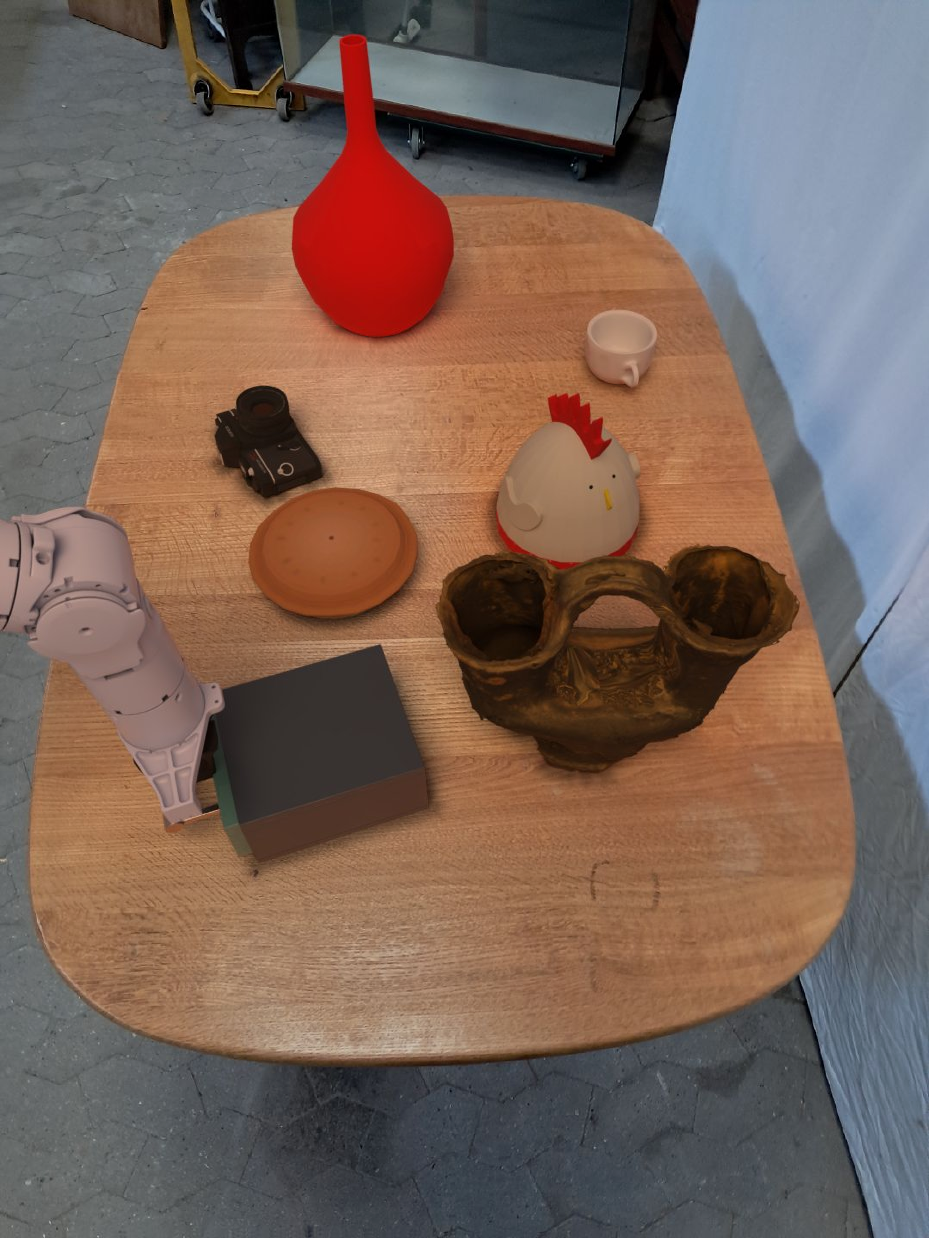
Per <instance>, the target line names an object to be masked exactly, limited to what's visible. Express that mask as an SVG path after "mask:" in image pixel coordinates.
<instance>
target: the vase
mask: <svg viewBox="0 0 929 1238" xmlns="http://www.w3.org/2000/svg"><path fill="white" fill-rule="evenodd" d="M338 44H339V45H338V46H339V55H340V68H341V69H340V70H341V76H342V77H341V79H342V91H343V103H344V113H345V121H346V130H347V132H346V137H345V142H344V143H345V144H344V146H343V149H342V151H341V154H340V155H339V156H338V157H337V159H336V160H335V162H334V163H333V164H332V166H331V167H330V168H329V169H328V171H327V173H326V174H325V175H324V177H323V178H322V180H321V181H320V182H319V183H318V184H317V185H316V187H315V188H314V189H313V190H312V191H311V192H310V194H309V195H308V196H306V198H305V199H304V200H303V202H301V204H299V206H298V208H297V210H296V211H295V213H294V215H293V217H292V233H291V251H292V252H291V253H292V258H293V262H294V263H293V264H294V267H295V269H296V271H297V273H298V276H299V278H300V280H301V281H302V283H303V285H304V287H305V288H306V290H307V292H308V293H309V295H310V297H311V299H312V301H313V302H314V304H315V305H316V306H318V307H319V309H321V310H322V312H323V313H325V314H326V315H327V316H328V317H329V319H331V320H332V322H334V324H337V325H339V326H340V327H342V328H344V329H346V330H348V331H350V332H352V333H354V334H357V335H361V336H364V337H372V338H382V337H390V336H394V335H398V334H401V333H403V332H405V331H407V330H409V329H410V328H413V326H415V325H416V324H417V323H419V322H420V321H422V320H423V319H424V318H425V317H426V316H427V315H428V314H429V312H430V311H431V310H432V308H434V306H435V304H436V303H437V301H438V300H439V298H440V297H441V296H442V293H443V291H444V287H445V285H446V282H447V278H448V275H449V272H450V269H451V265H452V263H453V260H454V257H455V238H454V232H453V225H452V222H451V218H450V214H449V209H448V208H447V206H446V204H445V203H444V201H443V199H441V197H440V196H438V195H437V194H436V193H434V192H433V191H432V190H431V189H430V188H428V187H427V186H426V185H425V184H424V183H422V181H420V180H419V179H418V178H416V177H415V176H414V175H413V174H411V172H410V171H409V170H407V168H405V167H404V166H403V164H401V162H399V160H397V159H396V158H395V157H394V156H393V155H392V154H391V153H390V152H389V151H388V150H387V149H386V147H385V146H384V144H383V142H382V141H381V138H380V135H379V133H378V130H377V123H376V113H375V111H376V110H375V102H374V93H373V92H374V91H373V84H372V75H371V67H370V57H369V49H368V41H367V37H365V36H364V35H361V34H348V35H344V36H342V37H341V38H339V40H338Z"/></svg>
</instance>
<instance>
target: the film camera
mask: <svg viewBox="0 0 929 1238" xmlns="http://www.w3.org/2000/svg"><path fill="white" fill-rule="evenodd" d="M289 404H290V403H289V399H288V396H287V394H286V393H285V391H283V390H282V389H280V388H278V387H275V386H272V385H263V384H262V385H255V386H252V387H251V386H250V387H249V388H246V389H245V390H243V391H242V392H241V393H239V394H238V395H237V397H236V400H235V404H234V408H231V409H228V410H224V411H222V412H218V413H216V414H215V415H216V417H215V419H214V423H215V426H216V431H215V433H214V440H215V446H216V453H217V456H218V459H219V460H220V461H221V464H222V466H225V467H226V468H227V467H229V468H239V470H240V471H241V476H242V479H243V480H244V482H245V483H246V485H247V486H248V487H250V488H251V489H252V490H253V491H254V493H257V492H259V495H261V496H262V497H263V498H267V497H269V496H273V495H274V496H277V495H278V494H279V493H281V492H283V491H286V490H288V489H291V488H294V487H297V486H300V485H303V484H306V483H307V484H310V483H311V482H312V481H314V480H317V479H320V478H322V477H323V471H322V469H323V468H322V463H321V461H320V459H319V457H318V455H317V454H316V452H315V451H314V450H313V448H312V447H311V445H310V444H309V443H308V441H307V440H306V438H305V437H304V436H303V434H302V433H301V432H300V430H299V429H298V427H297V425H296V422H295V420H294V418H293V417H292V415H291V414H290V405H289Z"/></svg>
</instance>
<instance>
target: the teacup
mask: <svg viewBox="0 0 929 1238" xmlns="http://www.w3.org/2000/svg"><path fill="white" fill-rule="evenodd" d="M584 342H585V343H584V345H585V346H584V353H585V360H586V363H587V366H588V368H589V369H590V371H591V373H592V374H593V375H594V376H595V377H596V378H597V379H598V380H601V381H603V382H605V383H608V384H613V385H624V384H625V385H626V386H628V387H629V388H636V387H637V386H638V385H639V381H640V378H641V377H643V375H644V374H645V372H647V370H648V368H649V367H650V365H651V363H652V360H653V358H654V355H655V352H656V347H657V345H658V344H657V343H658V331H657V328H656V326H655V324H654V323H653V322H652V321H651V320H650V319H649V318H648V317H646V316H645V315H643V314H641V313H639V312H636V311H632V310H627V309H609V310H605V311H602V312H600V313H598V314H596V315H595V316H593V317H592V318H591V319H590V321H589V322H588V324H587V327H586V332H585V341H584Z"/></svg>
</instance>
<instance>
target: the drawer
mask: <svg viewBox="0 0 929 1238" xmlns="http://www.w3.org/2000/svg"><path fill="white" fill-rule="evenodd" d="M211 720H214V721H215V726H216V730H217V735H218V749H217V751H216V752H215V753H214V755H213V756H214V761H215V766H216V773H215V774H213V778H212V779H213V785H214V789H215V794H216V800H217V803H214V804H211V805H208V806H205V807H201V810H202V814H201V815H198V816H195V817H192V818H190V819H187V820H184V821H180V822H177V823H174V824H171V823H170V822H169V820H168V819H167V818H166V817H165V815H164V814H163V813H162V812H161V817H162V821H163V828H164V831H165V833H168V834H174V833H175V834H176V833H179V832H181V831H182V830H184V829H185V825H187V824H191V823H194V822H197V821H200V820H203V819H206V818H210V817H213V816H217V815H220V819H221V825H222V829H223V831H224V833H225V834H226V836H227V838H228V840H229V842H230V843H231V845H232V847H233V849H234V850H235V853H236V854H237V856H238V858H240V857H244V856H247V855H250V854H253V852H252V850H251V848H250V846H249V844H248V842H247V840H246V838H245V837H244V835H243V833H242V831H241V829H240V827H239V824H238V819H237V814H236V810H235V805H234V800H233V795H232V791H231V786H230V781H229V776H228V772H227V767H226V762H225V757H224V753H223V748H222V743H221V738H220V734H219V729H218V724H217V719H216V714H215V713H214V714H213V715H212V718H211Z"/></svg>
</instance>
